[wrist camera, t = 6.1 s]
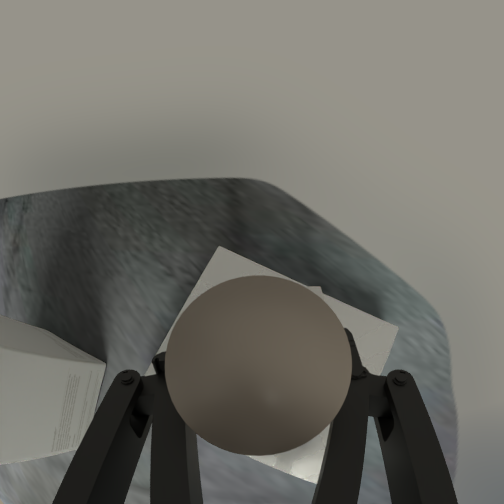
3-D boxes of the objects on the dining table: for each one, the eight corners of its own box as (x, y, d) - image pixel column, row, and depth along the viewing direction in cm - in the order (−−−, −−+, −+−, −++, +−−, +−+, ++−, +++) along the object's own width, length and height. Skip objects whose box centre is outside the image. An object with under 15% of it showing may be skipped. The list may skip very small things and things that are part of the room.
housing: (153, 388, 20) (136, 389, 17) (226, 260, 24) (219, 245, 21) (314, 471, 16) (319, 484, 14) (384, 333, 20) (398, 327, 17)
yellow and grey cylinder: (216, 382, 20) (135, 395, 8) (252, 316, 22) (220, 247, 10) (285, 417, 19) (296, 482, 7) (321, 349, 20) (379, 321, 8)
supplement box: (45, 326, 23) (-75, 275, 9) (109, 363, 21) (-41, 329, 7) (27, 403, 19) (-90, 388, 6) (88, 450, 18) (-46, 472, 4)
